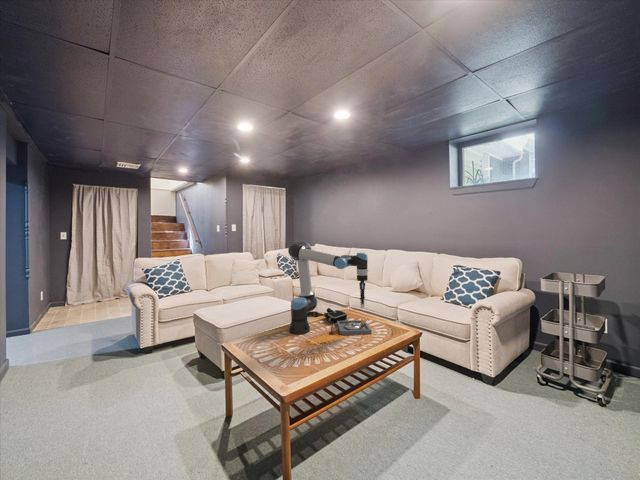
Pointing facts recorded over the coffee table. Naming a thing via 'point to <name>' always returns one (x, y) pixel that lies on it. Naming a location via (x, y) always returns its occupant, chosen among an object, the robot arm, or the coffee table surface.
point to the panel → (345, 331)
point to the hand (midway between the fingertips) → (362, 307)
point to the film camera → (335, 316)
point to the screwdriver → (334, 330)
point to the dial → (355, 325)
